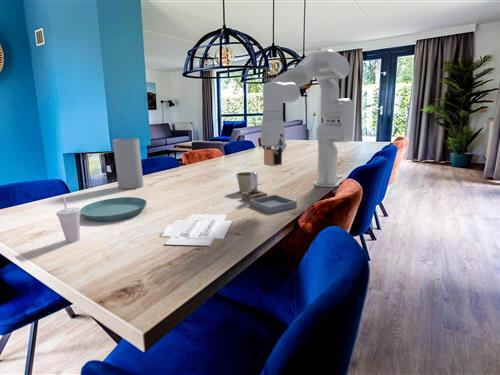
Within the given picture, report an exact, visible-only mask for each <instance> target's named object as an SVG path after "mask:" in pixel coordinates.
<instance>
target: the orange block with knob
mask: <svg viewBox="0 0 500 375" xmlns="http://www.w3.org/2000/svg"><path fill="white" fill-rule="evenodd" d="M278 149H279V148H277V150H278ZM274 154H275V150H274V148H272V149H263V165H265V166H268V167H274V166H282V164H283V159H282V158H283V153H282V154H281V164H276V165H275V164H274Z"/></svg>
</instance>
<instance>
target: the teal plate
mask: <svg viewBox="0 0 500 375" xmlns="http://www.w3.org/2000/svg"><path fill="white" fill-rule="evenodd" d="M146 205H147V200H146V199H144V198H141V197H134V196H127V197H126V196H122V197H115V198H106V199H101V200H97V201H94V202H91V203H88V204H86V205H85V206H83V207H82V208H80V213H79V214H81V215H82V216H83V217H84V218H85V219H88V220H90V221H95V222H112V221H120V220H125V219H128V218H131V217H132V218H133V217H134V216H136V215H138V214H140V213H141V212H142V211H143V210H144V209H145V208H146Z"/></svg>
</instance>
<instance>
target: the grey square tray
mask: <svg viewBox="0 0 500 375" xmlns="http://www.w3.org/2000/svg"><path fill="white" fill-rule="evenodd" d="M297 206H298V205H297V200H294V199H292V198H287V197H284V196H281V195H279V194H270V195H267V196H265V197H261V198H256V199H251V200H250V202H249V207H253V208H255V209H256V210H257V209H258V210H260V211H263V212H265V213H267V214H273V213H278V212H282V211H283V212H284V211H285V210H290V209H295V208H297Z"/></svg>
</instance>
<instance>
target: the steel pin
mask: <svg viewBox="0 0 500 375" xmlns="http://www.w3.org/2000/svg"><path fill="white" fill-rule="evenodd" d="M258 183H259V182H258V171H257V172H256V171H251V194H252V195H254V194H258V185H259V184H258Z"/></svg>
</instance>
